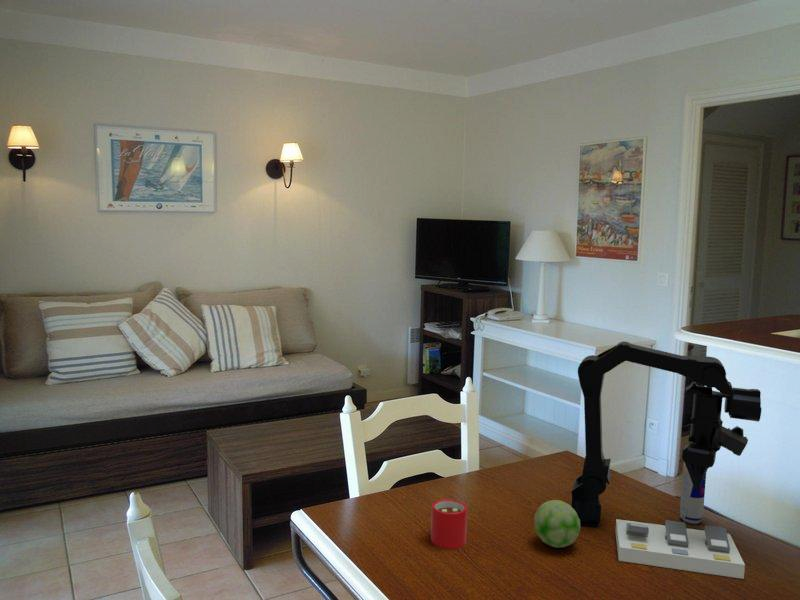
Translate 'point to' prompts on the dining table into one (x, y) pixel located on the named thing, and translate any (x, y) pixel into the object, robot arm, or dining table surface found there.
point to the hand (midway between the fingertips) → (699, 482)
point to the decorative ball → (557, 523)
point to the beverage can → (691, 499)
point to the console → (676, 551)
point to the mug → (449, 523)
